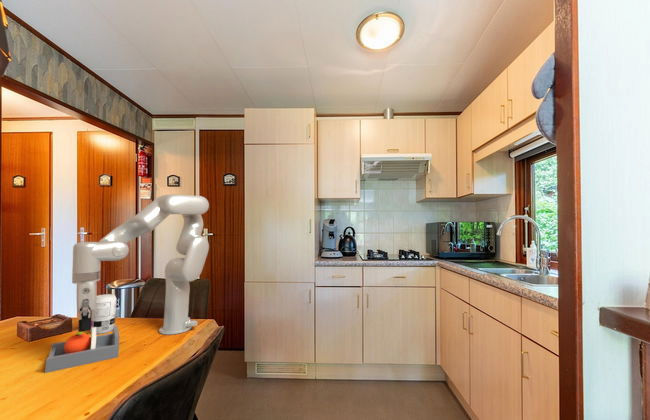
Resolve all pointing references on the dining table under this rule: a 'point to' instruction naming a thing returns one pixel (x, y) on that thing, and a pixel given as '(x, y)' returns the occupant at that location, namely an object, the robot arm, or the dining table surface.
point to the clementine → (77, 343)
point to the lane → (84, 353)
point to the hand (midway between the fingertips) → (85, 326)
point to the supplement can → (104, 314)
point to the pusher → (93, 338)
